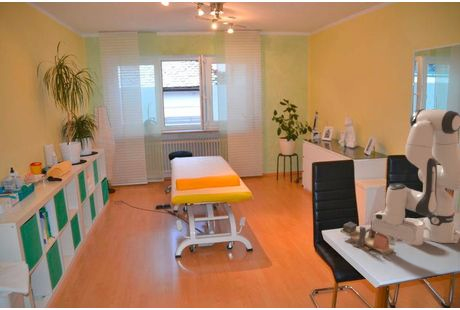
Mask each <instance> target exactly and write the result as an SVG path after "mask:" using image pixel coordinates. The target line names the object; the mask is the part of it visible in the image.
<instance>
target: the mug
mask: <svg viewBox="0 0 460 310" xmlns="http://www.w3.org/2000/svg"><path fill="white" fill-rule="evenodd" d="M405 221H408V222H412V223H414V224H415V225H416V226H417V231H416V240H415V241H414V242H412V243H410V242H407V241H404V240H401V241H402V242H403V243H405V244H407V245H411V246H420V245H421V246H422V245H423V244H424V241H425V242H430V241H431V240H430V239H431V230H430V228H429V227H425V223H424V222H423V221H424V220H421V219H418V218H413V217H412V218H410V217H405ZM415 225H414V226H415ZM424 229H426V230H429V233H430V236H429V238H425V237H424Z"/></svg>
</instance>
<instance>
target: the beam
mask: <svg viewBox="0 0 460 310" xmlns="http://www.w3.org/2000/svg"><path fill="white" fill-rule="evenodd" d="M357 226H358V224H357V223H354V222H352V221H348V222H347V223H344V224H343V228H342V229H340V233H341V234H343V235H346V236H347V237H349V238H352V239H354V240H356V241H357V242H359V234H360V230H357ZM367 233H368V235H367ZM371 234H372V227H371V226H370V227H369V228H366V230H365V244H366V245H368V246H370V247H372V248H373V249H374V250H376V251H378V252H379V253H382V254H383V251H386V255H385V256H388V255H390V254H391V253H392V252H393V251H394V250H395V248H394V247H392V246H390V245H389V247H388V248H387V249H385V250H383V249H381V248H379V247H377V246H375V245H373V242H374V239H373V238H371Z"/></svg>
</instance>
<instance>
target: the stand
mask: <svg viewBox="0 0 460 310" xmlns="http://www.w3.org/2000/svg"><path fill="white" fill-rule="evenodd" d="M372 221H373V220H371V221H370V227H372ZM365 230H367V227H365V226H361V225H360V227H359V232H360V234H359V241H357V242H355V243H354V244H353V245H352V246H353V247H355V248H357V249H360V250H363V251H365V252H369V251H371V250H373V249H374V248H372V247H370V246H368V245H366V244H365ZM376 233H377V232H376V231H373V230H372V234H371V238H373V239H374V237H375V234H376ZM381 256H382V258H386V256H387V255H386V251H383V253H382V255H381Z"/></svg>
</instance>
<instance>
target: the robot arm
mask: <svg viewBox="0 0 460 310" xmlns="http://www.w3.org/2000/svg"><path fill="white" fill-rule="evenodd" d="M409 123H410V126H411V128H410V131H409V133H408V136H407V139H406V145H405V149H404V152H405V153H404V154H405V157H406V159H407V160H408V162H410V163H411V165H414V166H415V167H416V168H418V171H417V174H418V175H417V176H418V179H419V180H420V182H422V186H423V187H422V192H421V191H419V190H415V189H412V188H410V187H407V186H406V185H405V184H403V183H392V184H389V185H388V187H387V190H386V195H385V208H384V210H379V211H380V212H377V213H375V214H374V213H373V219H372V220H371V221H372V230H373V231H376V233H378V232H379V233H382V234H385V235H387V238H388V240H389V246H390V245H391V246H393V247H394V246H396V242H397V241H398V240H401V241H402V240H404V241H407V242H410V243H412V242H414V241H415V240H416V231H417V226H416V225H415V224H414V223H412V222H408V221H405V218H406V210H409V211H412V212H415V213H417V214H419V215H421V216H423V217H425V218H424V219H423V220H422V221H423V222H424V223H425V227H429V228H430V230H431V239H430V240H429V241H432V242H435V243H441V244H458V243H459V241H460V231H459V230H457V228H458V224H457V223H456V222H455V220H454V219H455V218H454V217H455V214H456V212H455V211H454V205H455V200H454V198H453V196H451V194H449V193H448V192H447V191H446V190H447V189H448V190H452V191H458V192H459V191H460V157H459V148H458V147H459V146H458V145H459V134H458V130H459V129H460V114H459V112H456V111H453V110H446V109H445V110H444V109H424V108H422V109H417V110H414V112H413V113H412V114H411V117H410V121H409ZM436 161H437V162H438V163H439V164H437V162H436ZM414 225H415V226H414ZM429 236H430V233H429V230H426V229H424V237H423V238H429Z"/></svg>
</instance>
